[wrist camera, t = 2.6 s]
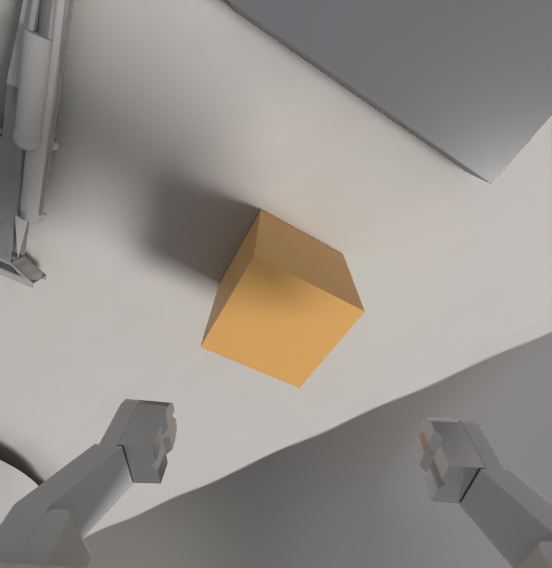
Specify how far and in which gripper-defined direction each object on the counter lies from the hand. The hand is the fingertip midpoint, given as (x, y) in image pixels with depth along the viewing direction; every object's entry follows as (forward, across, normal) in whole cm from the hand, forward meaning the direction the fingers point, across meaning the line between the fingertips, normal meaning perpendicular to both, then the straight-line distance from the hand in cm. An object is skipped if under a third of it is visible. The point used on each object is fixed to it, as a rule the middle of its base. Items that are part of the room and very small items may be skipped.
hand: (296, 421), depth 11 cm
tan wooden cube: (+11, +1, 0) cm, 11 cm away
